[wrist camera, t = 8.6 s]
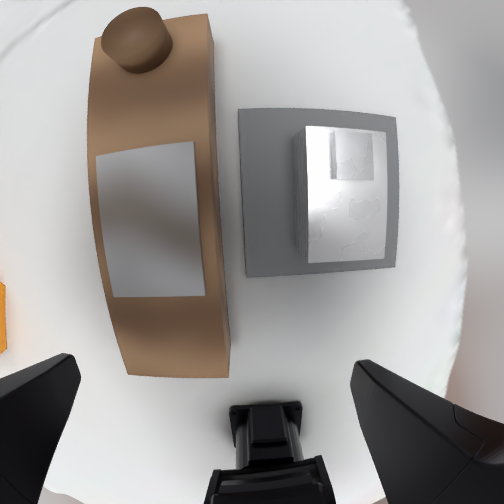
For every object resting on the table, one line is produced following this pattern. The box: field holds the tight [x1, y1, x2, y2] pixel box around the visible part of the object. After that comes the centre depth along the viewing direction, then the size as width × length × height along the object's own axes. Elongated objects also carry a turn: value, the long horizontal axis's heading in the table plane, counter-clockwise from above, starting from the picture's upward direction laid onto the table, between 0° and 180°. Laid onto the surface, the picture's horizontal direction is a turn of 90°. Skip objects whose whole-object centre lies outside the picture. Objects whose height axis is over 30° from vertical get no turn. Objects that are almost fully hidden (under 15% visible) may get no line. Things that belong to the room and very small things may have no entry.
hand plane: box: [87, 7, 231, 378], centre depth 15 cm, size 22×7×6 cm, turn 3°
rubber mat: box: [238, 108, 399, 278], centre depth 18 cm, size 11×11×1 cm
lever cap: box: [292, 126, 387, 263], centre depth 15 cm, size 7×4×5 cm, turn 2°
